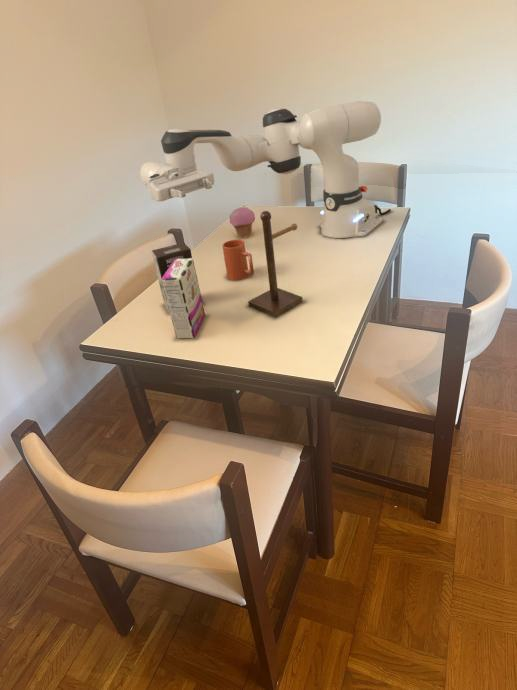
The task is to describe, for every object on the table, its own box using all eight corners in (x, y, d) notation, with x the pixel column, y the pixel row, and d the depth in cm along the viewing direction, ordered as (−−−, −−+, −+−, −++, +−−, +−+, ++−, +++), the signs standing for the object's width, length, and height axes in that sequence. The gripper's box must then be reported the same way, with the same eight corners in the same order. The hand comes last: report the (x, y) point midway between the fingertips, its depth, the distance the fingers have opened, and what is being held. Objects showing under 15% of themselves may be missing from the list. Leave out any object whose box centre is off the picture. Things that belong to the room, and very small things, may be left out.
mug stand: (287, 285, 135) (279, 196, 121) (314, 294, 128) (309, 202, 115) (248, 306, 127) (235, 214, 114) (275, 317, 121) (264, 221, 107)
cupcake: (256, 230, 175) (253, 202, 169) (257, 238, 167) (254, 210, 162) (232, 233, 175) (228, 206, 170) (232, 242, 168) (227, 213, 162)
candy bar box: (187, 316, 126) (174, 258, 118) (206, 316, 125) (194, 257, 117) (175, 339, 117) (159, 278, 108) (194, 339, 116) (180, 277, 107)
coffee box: (170, 314, 129) (156, 257, 120) (164, 304, 134) (150, 249, 125) (202, 304, 131) (190, 248, 122) (195, 295, 136) (183, 241, 127)
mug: (223, 276, 144) (217, 245, 139) (239, 269, 148) (234, 238, 142) (246, 285, 138) (241, 253, 132) (262, 277, 141) (258, 245, 136)
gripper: (201, 183, 158) (226, 191, 149) (146, 200, 148) (169, 210, 139) (198, 163, 154) (223, 170, 145) (141, 179, 144) (165, 188, 135)
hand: (196, 190), depth 142 cm, fingers open, 8 cm apart
